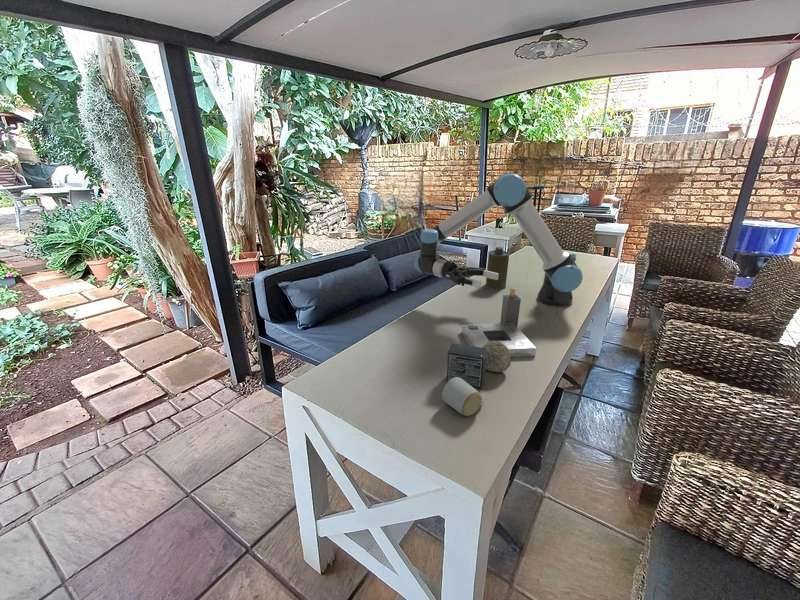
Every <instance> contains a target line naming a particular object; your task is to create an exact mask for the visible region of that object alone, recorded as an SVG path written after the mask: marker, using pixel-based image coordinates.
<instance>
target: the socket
mask: <svg viewBox="0 0 800 600" xmlns="http://www.w3.org/2000/svg"><path fill="white" fill-rule="evenodd" d="M461 334H462V335H463V337H464V339H465V340H466V342H467V345H468V346H474V347H481V348H483V346H484V345H485V344H486V343H487V342H488V341H499V342H501V343H503V344H504V345H505V346H506V347H507V348H508V349H509V351H510V355H511V358H516V357H517V358H519V357H520V358H521V357H535V356H536V353H537V347H536V346H535V345H534V344H533V343H532V341H530V340H531V339H529V338H528V337H527V336H526V335H525V333H523V332H522V331H521V329H520V328H519V326H518V325H517V326H516V325H515V324H514V323H500V322H499V323H478V324H477V323H475V324H473V323H471V324H470V323H469V324H461Z"/></svg>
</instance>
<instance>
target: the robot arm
mask: <svg viewBox="0 0 800 600" xmlns="http://www.w3.org/2000/svg"><path fill="white" fill-rule="evenodd" d="M533 198H534V195H532V193H531V191H530V190H529V188H528V186H527V185H526V182H525V180H524V179H523V178H522V176H520V175H519V174H517V173H515V172H506V173H503V174H501V175H499V176H498V178H497V179H496V180H495V181H494V182H492V184H490V185H488V186H487V187H486V188H485V191H484V192H483V193H481V194H480V195H478V196H477V197H476V198H474V199H473V200H471V201H470V202H467V204H466V205H464V206H462V207H461V208H460V209H458V210H457V211H455V212H454V213H452V214H451V215H449V216H448V217H447V218H445V219H444V220H442V221H441V222H440V223H438V224H436V225H435V226H434V227H431V228H426V229H425V228H424V229H422V230H421V232H420V245H419V246H420V247H419V248H420V251H419V252H420V253H419V254H418V255H417V256H416V257H415V260H414V262H413V265H414V268H415V270H416V271H418V272H420V273H423V274H427V275H432V276H435V277H438V278H440V279H441V278H442V279H445V280H446V279H447V280H450V281H451V282H453V283H454V284H456V285H458V286H460V285H461V287H465V285H468V286H470V287H474V288H478V289H481V287H482V281H481V280H478V279H477V278H476V279H475V278H472V277H473V276H477V277H478V276H479V277H480V276H481V277H483V278H485V279H486V278H491V279H495V280H498V275H499V273H495V272H490V271H487V268H486V267H474V266H466V265H463V266H458V263H456V262H454V261H450V260H449V261H448V260H446V259H440V258H437V257H438V246H439V244H441V243H442V242H443V241H445V240H446V239H448V238H450V236H452V235H453V234H455V233H457V232H458V231H460V230H461V229H463V228H465V227H466V226H468V225H469V224H470V223H472V222H473V221H475V220H477V219H478V218H479V217H480V216H482V215H484V214H485V213H487V212H488V211H490V210H491V209H493V208H494V207H497V208H499V207H500V206H501V207H502V210H504V212H505V214H507V215H511V216H513V218H514V220H515V222H516V223H517V224H518V226H519V227H520V229H521V231H522V232H523V234H524V235H525V237H526V238H527V239H528V241H529V243H530V245H531V246H532V247H533V249H534V251H535V252H536V253H537V255H538V257H539V258H540V260H541V261H542V263H543V264H542V267H541V268H542V270H543V271H544V276H543V283H542V285H541V287H540V289H539V291H538V292H537V297H536V299H537V301H538V302H539V303H541V304H543V305H544V304H545V305H548V306H552V307H568V306H571V305H572V304H573V299H574V298H573V293H572V292H573V291H575V290H577V289H578V288H579V287H580V286H581V284H582V283H583V271H582V270H581V269H580V268H579V266H578V264H577V263H576V260H577V253H575V252H570V251H564V250H563V249H562V247H561V246H560V244H559V242H558V241H557V239H556V238H555V236H554V235H553V234H552V231H551V230H550V229H549V227H548V226H547V223H546V222H545V221H544V220H543V218H542V216H541V214H540V213H539V211H538V210H537V209H536V207H535V205H534V203H533V202H532V201H533ZM469 276H472V277H469Z"/></svg>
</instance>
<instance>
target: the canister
mask: <svg viewBox="0 0 800 600" xmlns="http://www.w3.org/2000/svg"><path fill="white" fill-rule="evenodd" d="M487 254H488V255H487V268H486V271H490V272H495V273H499V275H498V280H495V279H491V278H486V277H485V287H486V288H487V289H492V290H503V289H505V288H506V287H507V278H508V269H509V263H510V261H509V259H510V255H511V254H510V253H509V252H508V251H504V249H503V247H501V246H500V247H498V246H497V247H495V249H494V250H490V251H488V253H487Z"/></svg>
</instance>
